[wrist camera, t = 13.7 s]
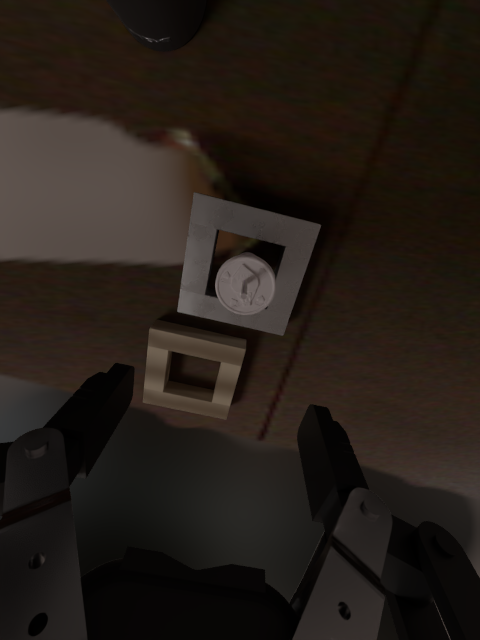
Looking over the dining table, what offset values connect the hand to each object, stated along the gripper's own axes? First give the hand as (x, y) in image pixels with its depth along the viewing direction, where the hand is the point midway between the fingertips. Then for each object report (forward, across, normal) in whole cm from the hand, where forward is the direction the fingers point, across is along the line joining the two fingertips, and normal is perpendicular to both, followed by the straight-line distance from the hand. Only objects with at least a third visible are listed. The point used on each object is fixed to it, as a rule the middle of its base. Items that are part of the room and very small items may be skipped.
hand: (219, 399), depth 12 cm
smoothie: (+26, -1, 0) cm, 26 cm away
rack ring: (+26, 0, 0) cm, 26 cm away
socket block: (+26, +4, +18) cm, 32 cm away
